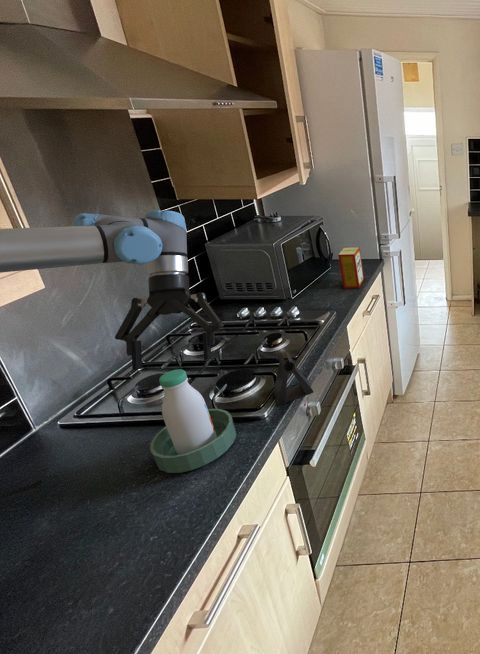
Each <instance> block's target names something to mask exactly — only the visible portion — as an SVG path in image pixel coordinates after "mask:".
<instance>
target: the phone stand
mask: <svg viewBox="0 0 480 654" xmlns="http://www.w3.org/2000/svg"><path fill="white" fill-rule="evenodd" d="M284 355H285V356H286V359H285V358H284V356H283V354H282V352H279V354H278V356H277V360H278V368H277V373H276V379H275V384H274V389H273V395H274V398H275V401H276V404H277V406H281V405H284V404H287V403H290V402H292V401H295V400H296V399H301V398H304V397H306V396H309V395H311V394H314V390H313V387H312V386H311V384H310V381H309V380H308V379H307V377H306V376H305V375H304V373H302V371H301V370H300V369H299V367H297V366H296V364H295V361H294V360H293V358H292V356H291V354H290V352H289V351H284ZM289 374H293V375H294V377H295V378H296V380H297V382H298V384H296V385H293V386H290V387H287V385H288V375H289Z"/></svg>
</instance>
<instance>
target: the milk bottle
mask: <svg viewBox="0 0 480 654" xmlns="http://www.w3.org/2000/svg"><path fill="white" fill-rule="evenodd" d="M188 379H189V378H188V375H187V372H186V371H185V370H184V369H173V370H170V371H167V372H165V373H164V374H162V375H161V376H160V377H159V378H158V382H159V385H160V387H161V389H162V390H163V399H162V403H161V415H162V417H163V422H164V424H165V426H166V427H167V429H168V432H169V434H170V437H171V440H172V442H173V445H174V447H175V450H176V452H177V454H178V455H180V454H185V453H189V452H191V451H194V450H197V449H199V448H201V447H203V446H205V445H207V444H209V443H211V442H212V441H213V440H215V439H216V438H217V435H216V432H215V429H214V426H213V423H212V420H211V417H210V414H209V411H208V409H209V408H208V406H207V404H206V401H205V398H204V396H203V395H202V394H201V393H200V392H199V390H197V389H195V387H193V386H192V385H190V383H189V382H188Z"/></svg>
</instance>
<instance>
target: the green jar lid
mask: <svg viewBox="0 0 480 654" xmlns="http://www.w3.org/2000/svg"><path fill="white" fill-rule="evenodd" d="M207 409H208V411H209V414H210V417H211V420H212V423H213V426H214V429H215V432H216V435H217V438H216V439H215V440H213V441H212V442H211V443H209V444H207V445H205V446H203V447H201V448H199V449H197V450H194V451H191V452H189V453H185V454H180V455H178V454H177V452H176V450H175V447H174V445H173V442H172V440H171V437H170V434H169V432H168V429H167V427H166V425H165V426H164V427H162V428H161V430H159V431H158V432H157V433H156V434H155V435H154V436H153V439H152V440H151V441H150V445H149V451H150V454H151V456H152V458H153V461H154V463H155V465H156V467H157V468H158V470H160V471H162V472H164V473H167V474H182V473H185V472H190V471H194V470H196V469H199V468H201V467H204V466H206V465H208V464H209V463H211V462H213V461H215V460H217V459H218V458H220V457H221V456H222V455H224V454H225V453H226V452H228V450H229V449H230V448H231V447H232V445H233V444H234V442H235V441H236V438H237V430H236V429H237V428H236V426H235V422H234V419H233V416H232V414H231V413H230V412H229V411H227V410H225V409H221V408H207Z"/></svg>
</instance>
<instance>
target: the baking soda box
mask: <svg viewBox="0 0 480 654" xmlns="http://www.w3.org/2000/svg"><path fill="white" fill-rule="evenodd" d="M337 256H338V261H339V267H340V275H341V280H342V287H343V289H345V290H346V289H360V287H361V286H362V284H363V282H364V280H365V276H364V268H363V262H362V261H363V260H362V255H361V247H360V246H352V247H348V246H347V247H343V248H342V250H341V251H340V252H339V253H338V255H337Z"/></svg>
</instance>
